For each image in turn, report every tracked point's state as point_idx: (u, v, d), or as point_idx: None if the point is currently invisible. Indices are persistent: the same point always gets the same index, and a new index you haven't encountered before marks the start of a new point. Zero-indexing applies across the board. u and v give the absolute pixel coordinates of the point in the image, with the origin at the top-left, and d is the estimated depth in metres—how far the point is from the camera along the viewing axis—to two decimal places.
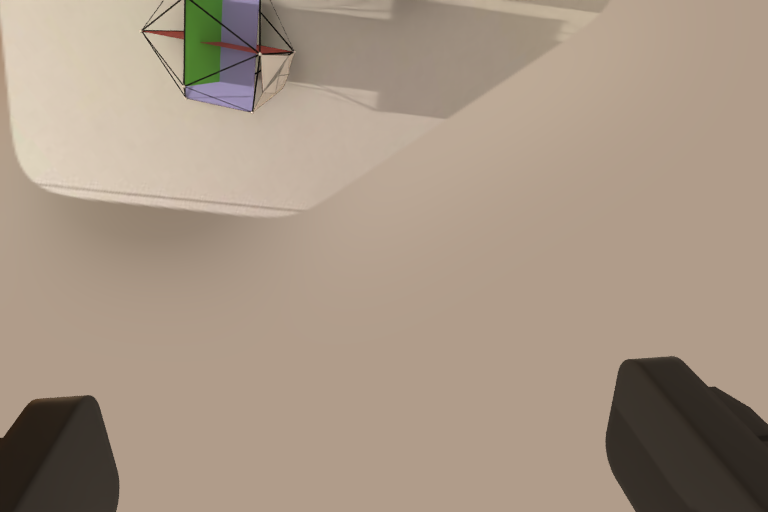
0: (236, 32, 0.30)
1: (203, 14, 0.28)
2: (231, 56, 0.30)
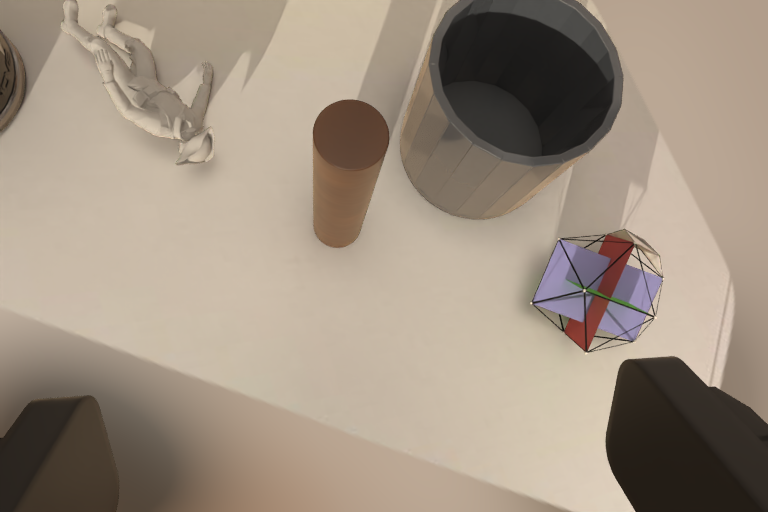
0: (593, 273, 0.33)
1: (587, 289, 0.32)
2: None
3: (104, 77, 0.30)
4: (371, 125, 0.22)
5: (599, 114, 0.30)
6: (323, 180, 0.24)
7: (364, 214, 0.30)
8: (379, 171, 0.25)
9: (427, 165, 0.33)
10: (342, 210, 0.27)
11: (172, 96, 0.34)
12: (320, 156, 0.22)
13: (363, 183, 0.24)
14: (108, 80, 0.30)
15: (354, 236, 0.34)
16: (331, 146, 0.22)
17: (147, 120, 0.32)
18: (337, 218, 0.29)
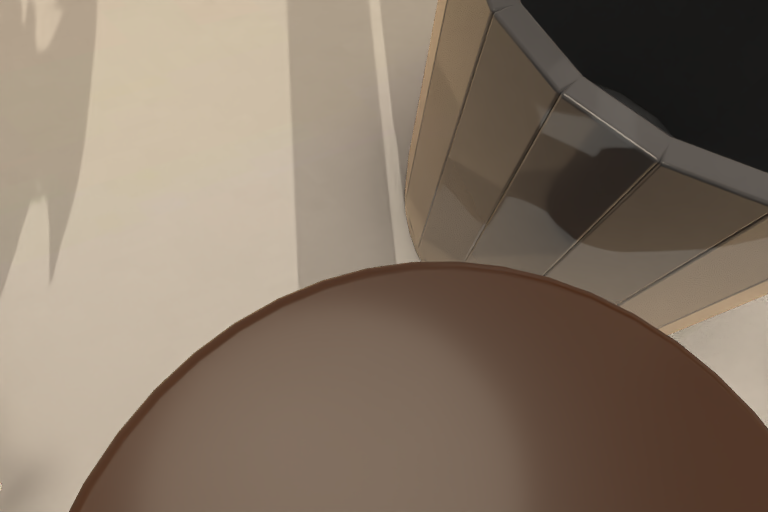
0: None
1: None
2: None
3: None
4: (607, 460, 0.02)
5: None
6: None
7: None
8: None
9: None
10: None
11: None
12: None
13: None
14: None
15: None
16: None
17: None
18: None
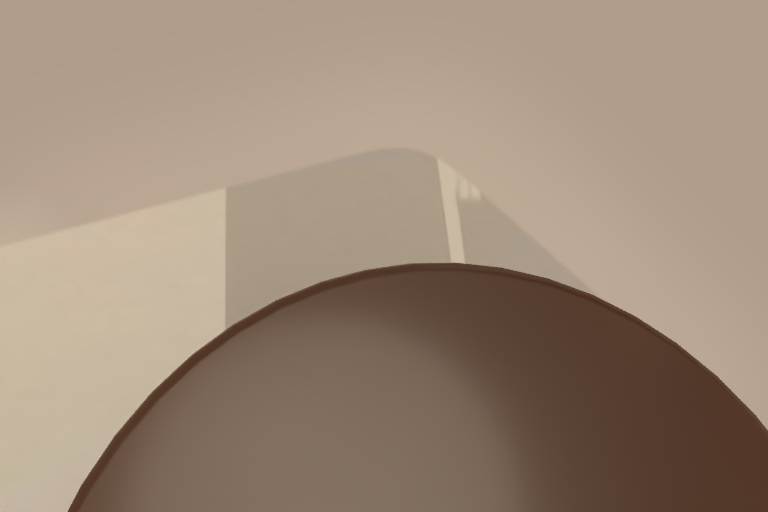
0: None
1: None
2: None
3: None
4: (606, 463, 0.02)
5: None
6: None
7: None
8: None
9: None
10: None
11: None
12: None
13: None
14: None
15: None
16: None
17: None
18: None
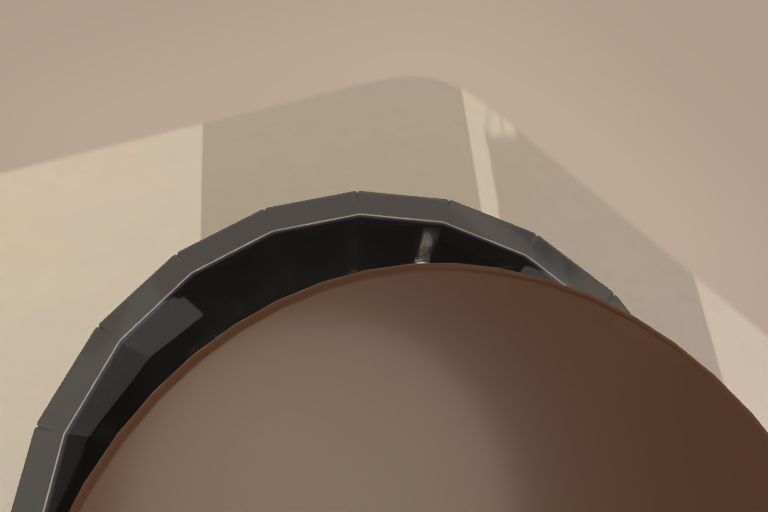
0: None
1: None
2: None
3: None
4: (605, 462, 0.02)
5: None
6: None
7: None
8: None
9: None
10: None
11: None
12: None
13: None
14: None
15: None
16: None
17: None
18: None
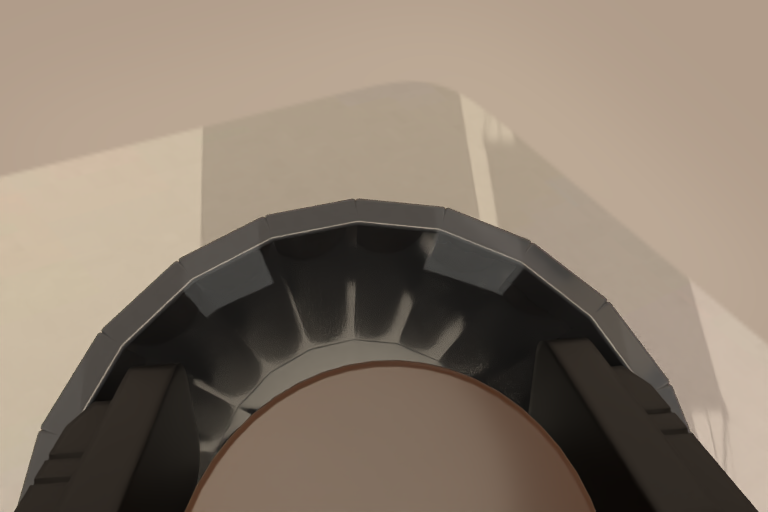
0: None
1: None
2: None
3: None
4: (474, 475, 0.04)
5: None
6: None
7: None
8: None
9: None
10: None
11: None
12: None
13: None
14: None
15: None
16: None
17: None
18: None
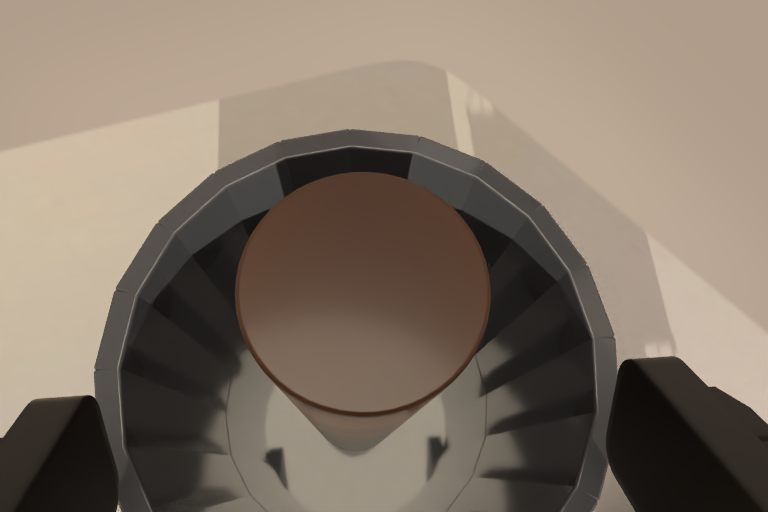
0: None
1: None
2: None
3: None
4: (412, 230, 0.07)
5: (569, 356, 0.12)
6: (323, 423, 0.08)
7: None
8: None
9: None
10: (382, 435, 0.11)
11: None
12: (295, 398, 0.06)
13: None
14: None
15: None
16: (318, 351, 0.06)
17: None
18: (372, 440, 0.13)
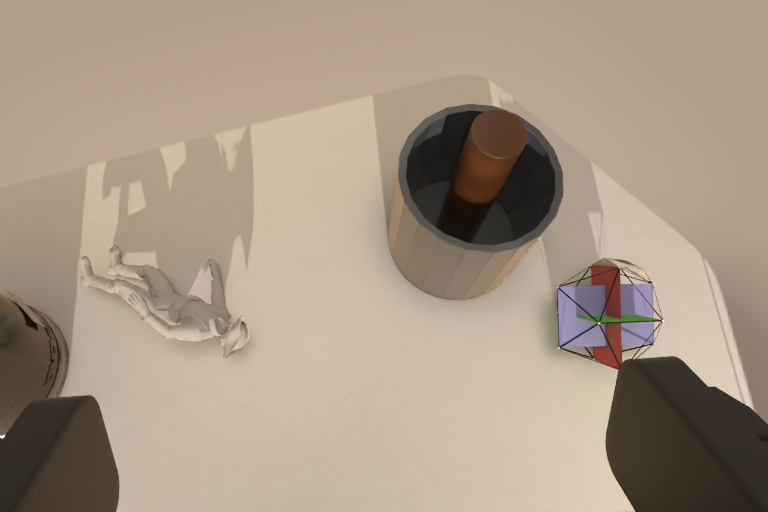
0: (596, 302, 0.38)
1: (599, 319, 0.37)
2: None
3: (142, 313, 0.35)
4: (508, 122, 0.30)
5: (548, 182, 0.35)
6: (480, 178, 0.32)
7: None
8: None
9: (428, 272, 0.38)
10: (486, 203, 0.34)
11: (197, 302, 0.38)
12: (485, 155, 0.29)
13: (511, 168, 0.31)
14: (146, 314, 0.35)
15: None
16: (490, 146, 0.29)
17: (187, 332, 0.36)
18: (478, 215, 0.36)
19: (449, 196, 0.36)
